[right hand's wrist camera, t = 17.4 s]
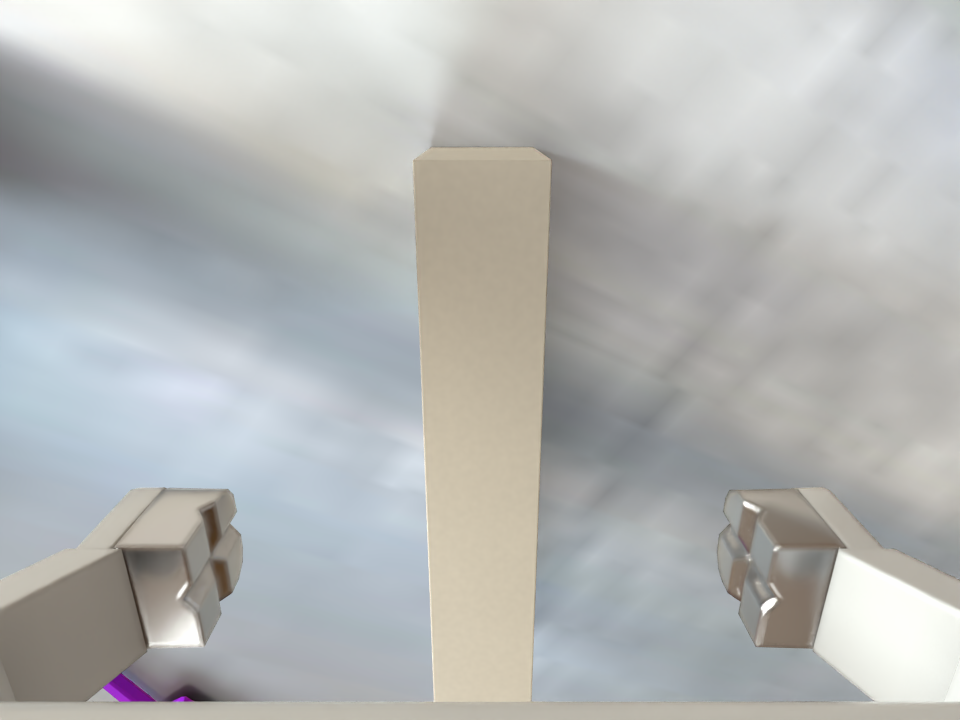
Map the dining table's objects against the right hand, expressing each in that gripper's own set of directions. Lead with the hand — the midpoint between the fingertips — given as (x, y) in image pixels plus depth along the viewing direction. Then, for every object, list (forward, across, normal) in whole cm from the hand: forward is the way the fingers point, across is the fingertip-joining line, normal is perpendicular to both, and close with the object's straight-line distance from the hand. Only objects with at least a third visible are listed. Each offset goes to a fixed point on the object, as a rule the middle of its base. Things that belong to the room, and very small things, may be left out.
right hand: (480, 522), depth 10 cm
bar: (+23, 0, -9) cm, 25 cm away
